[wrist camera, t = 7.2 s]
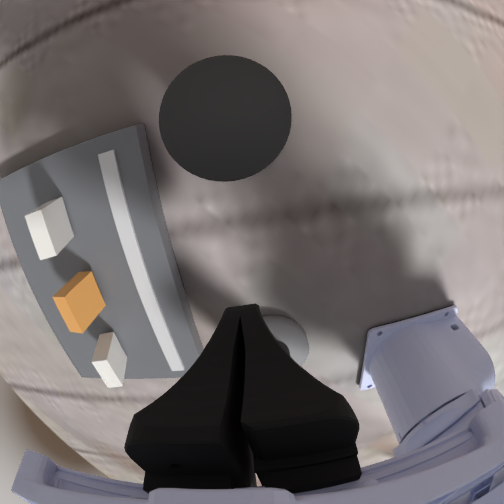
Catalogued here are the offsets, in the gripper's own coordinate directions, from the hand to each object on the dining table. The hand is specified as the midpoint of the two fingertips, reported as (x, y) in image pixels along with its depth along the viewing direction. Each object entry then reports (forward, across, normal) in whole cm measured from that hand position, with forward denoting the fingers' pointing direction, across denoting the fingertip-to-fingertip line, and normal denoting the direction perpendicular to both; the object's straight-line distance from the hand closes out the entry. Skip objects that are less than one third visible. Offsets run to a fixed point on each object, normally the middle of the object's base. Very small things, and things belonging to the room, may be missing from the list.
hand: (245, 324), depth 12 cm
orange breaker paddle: (+5, +10, 0) cm, 11 cm away
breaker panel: (+7, +10, 0) cm, 12 cm away
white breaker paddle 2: (+5, +11, +5) cm, 13 cm away
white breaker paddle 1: (+5, +11, -5) cm, 13 cm away
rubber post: (+7, -1, -8) cm, 11 cm away
